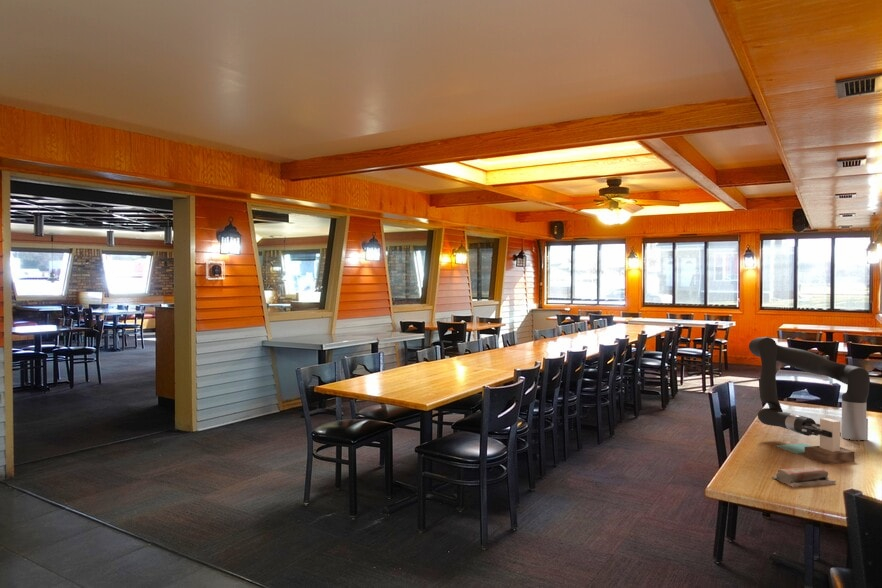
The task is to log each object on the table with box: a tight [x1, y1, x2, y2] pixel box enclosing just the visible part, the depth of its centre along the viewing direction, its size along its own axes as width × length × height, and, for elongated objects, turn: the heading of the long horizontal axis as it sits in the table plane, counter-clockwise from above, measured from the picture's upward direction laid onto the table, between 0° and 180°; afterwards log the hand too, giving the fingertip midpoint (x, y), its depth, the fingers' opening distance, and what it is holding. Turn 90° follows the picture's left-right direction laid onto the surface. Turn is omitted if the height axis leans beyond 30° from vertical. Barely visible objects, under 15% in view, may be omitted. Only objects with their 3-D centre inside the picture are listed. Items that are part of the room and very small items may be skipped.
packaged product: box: [771, 466, 837, 488], centre depth 208 cm, size 18×5×10 cm
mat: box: [776, 442, 811, 455], centre depth 247 cm, size 14×11×1 cm
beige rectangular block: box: [819, 417, 841, 452], centre depth 233 cm, size 4×6×12 cm, turn 13°
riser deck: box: [804, 445, 856, 465], centre depth 234 cm, size 14×10×4 cm
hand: (835, 434), depth 231 cm, fingers closed on beige rectangular block, 3 cm apart
